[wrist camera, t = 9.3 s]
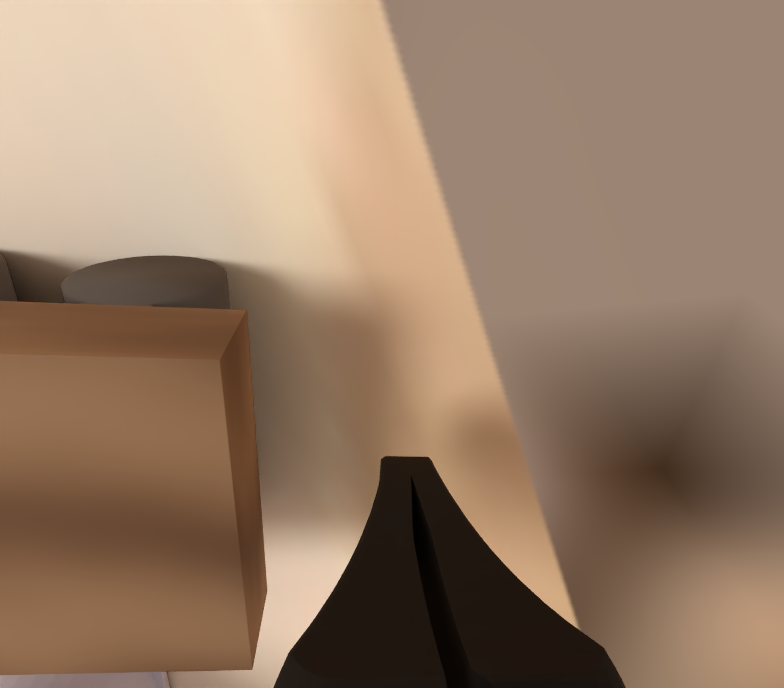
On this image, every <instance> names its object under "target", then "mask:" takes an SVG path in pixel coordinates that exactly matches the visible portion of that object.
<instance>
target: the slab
mask: <svg viewBox="0 0 784 688" xmlns="http://www.w3.org/2000/svg"><path fill="white" fill-rule="evenodd" d="M266 594H267V580H266V567H265V553H264V539H263V526H262V512H261V499H260V485H259V471H258V458H257V444H256V430H255V417H254V403H253V390H252V376H251V362H250V349H249V335H248V322H247V310H235V309H208V308H180V307H153V306H126V305H99V304H72V303H44V302H17V301H0V675H37V674H82V673H127V672H172V671H218V670H252V668H253V663H254V658H255V653H256V647H257V642H258V637H259V631H260V626H261V621H262V616H263V610H264V605H265V600H266Z"/></svg>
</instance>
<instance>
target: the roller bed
mask: <svg viewBox="0 0 784 688" xmlns="http://www.w3.org/2000/svg"><path fill="white" fill-rule="evenodd" d="M61 290H62V294H63V298H64V302H65V303H72V304H99V305H126V306H153V307H180V308H208V309H230V306H229V295H228V284H227V274H226V271H225V270H224V268H222V267H221V266H219V265H217V264H215V263H213V262H210V261H206V260H202V259H197V258H191V257H181V256H143V257H132V258H124V259H117V260H112V261H107V262H103V263H98V264H95V265H91V266H88V267H85V268H83V269H80V270H78V271H76V272H74V273H72V274H70V275H69V276H67V277H66V278H65V279H64V280H63V282H62V283H61ZM0 301H17V302H18V300H17V297H16V293H15V290H14V286H13V283H12V280H11V276H10V273H9V270H8V266H7V263H6V260H5V256H4V255H3V254H1V253H0Z"/></svg>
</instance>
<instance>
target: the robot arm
mask: <svg viewBox="0 0 784 688" xmlns="http://www.w3.org/2000/svg"><path fill="white" fill-rule="evenodd" d="M0 688H170V686H169V681H168V677H167V673H166V672H127V673H82V674H37V675H0ZM274 688H625V685H624V683H623V681H622V679H621V677H620V675H619V673H618V672H617V670H616V668H615V666H614V665H613V663H612V661H611V659H610V658H609V656H608V654H607V652H606V651H605V649H604V648H603V647H602V646H600V645H599V644H598V643H596V642H595V641H594V640H592V639H591V638H589V637H588V636H587V635H585V634H584V633H583V632H581V631H580V630H578V629H577V628H576V627H574V626H573V625H571V624H570V623H569V622H567V621H566V620H565V619H564V618H562V617H561V616H560V615H559V614H557V613H556V612H555V611H554V610H553V609H551V608H550V607H549V606H548V605H546V604H545V603H544V602H543V601H542V600H541V599H540V598H539V597H538V596H536V595H535V594H534V593H533V592H532V591H531V590H530V589H529V588H528V587H527V586H526V585H524V584H523V583H522V582H521V581H520V580H519V579H518V578H517V577H516V576H515V575H514V574H513V573H512V572H511V571H510V570H509V569H508V568H507V567H506V565H505V564H504V563H503V562H502V561H501V560H500V559H499V558H498V557H497V556H496V554H495V553H494V552H493V551H492V550H491V549H490V548H489V546H488V545H487V544H486V543H485V541H484V540H483V539H482V538H481V537H480V535H479V534H478V533H477V531H476V530H475V529H474V527H473V526H472V525H471V523H470V522H469V521H468V519H467V518H466V517H465V515H464V514H463V512H462V511H461V509H460V508H459V506H458V505H457V503H456V502H455V500H454V499H453V497H452V496H451V494H450V493H449V491H448V489H447V488H446V486H445V484H444V483H443V481H442V479H441V478H440V476H439V474H438V472H437V470H436V468H435V466H434V465H433V462H432V460H431V459H430V458H429V457H398V456H385V457H384V458H382V459H381V466H380V480H379V485H378V490H377V493H376V497H375V500H374V503H373V507H372V510H371V513H370V516H369V518H368V521H367V523H366V526H365V528H364V531H363V533H362V536H361V538H360V540H359V543H358V545H357V547H356V549H355V551H354V553H353V555H352V557H351V559H350V561H349V563H348V565H347V567H346V569H345V571H344V572H343V574H342V576H341V578H340V580H339V581H338V583H337V585H336V587H335V588H334V590H333V592H332V593H331V595H330V596H329V598H328V599H327V601H326V602H325V604H324V605H323V607H322V608H321V610H320V611H319V613H318V614H317V616H316V617H315V619H314V620H313V622H312V623H311V624H310V626H309V627H308V628H307V630H306V631H305V632H304V634H303V635H302V636H301V638H300V639H299V640H298V641H297V643H296V644H295V645H294V647H293V648H292V649H291V650H290V652H289V653H288V656H287V658H286V660H285V662H284V665H283V667H282V669H281V671H280V674H279V676H278V678H277V681H276V683H275V686H274Z"/></svg>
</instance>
